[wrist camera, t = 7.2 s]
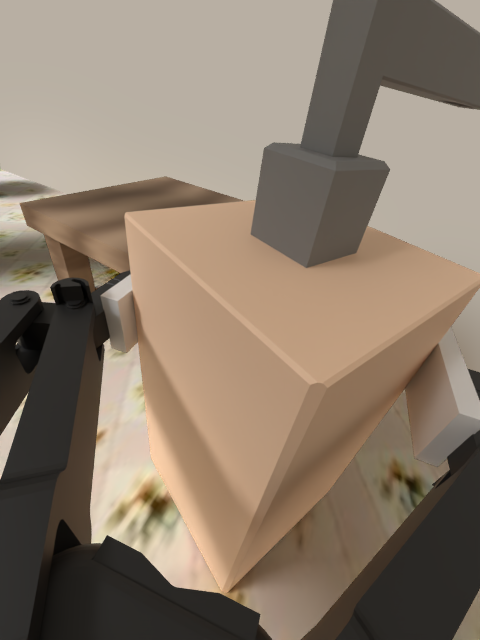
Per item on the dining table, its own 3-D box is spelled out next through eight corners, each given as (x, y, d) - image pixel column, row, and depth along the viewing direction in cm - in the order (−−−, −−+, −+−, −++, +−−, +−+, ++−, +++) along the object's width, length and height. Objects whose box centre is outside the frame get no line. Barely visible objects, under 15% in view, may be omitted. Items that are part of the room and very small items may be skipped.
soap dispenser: (223, 596, 15) (748, -516, 1) (149, 456, 20) (89, -69, 6) (364, 456, 22) (671, 63, 8) (283, 378, 26) (392, 54, 13)
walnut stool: (51, 297, 32) (19, 203, 26) (168, 247, 44) (165, 176, 38) (176, 376, 25) (173, 275, 19) (272, 291, 38) (288, 214, 32)
